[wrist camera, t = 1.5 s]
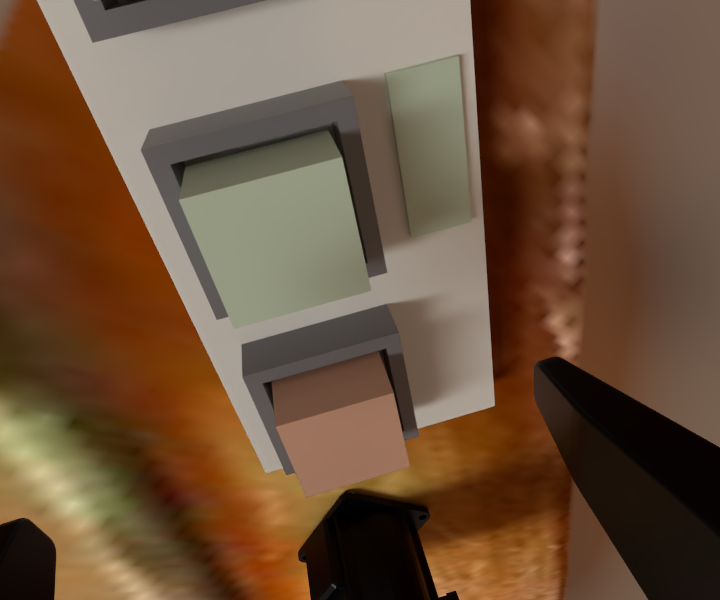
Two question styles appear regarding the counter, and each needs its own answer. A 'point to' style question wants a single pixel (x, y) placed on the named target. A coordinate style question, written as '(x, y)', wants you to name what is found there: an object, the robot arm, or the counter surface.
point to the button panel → (361, 162)
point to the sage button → (276, 228)
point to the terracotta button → (339, 423)
